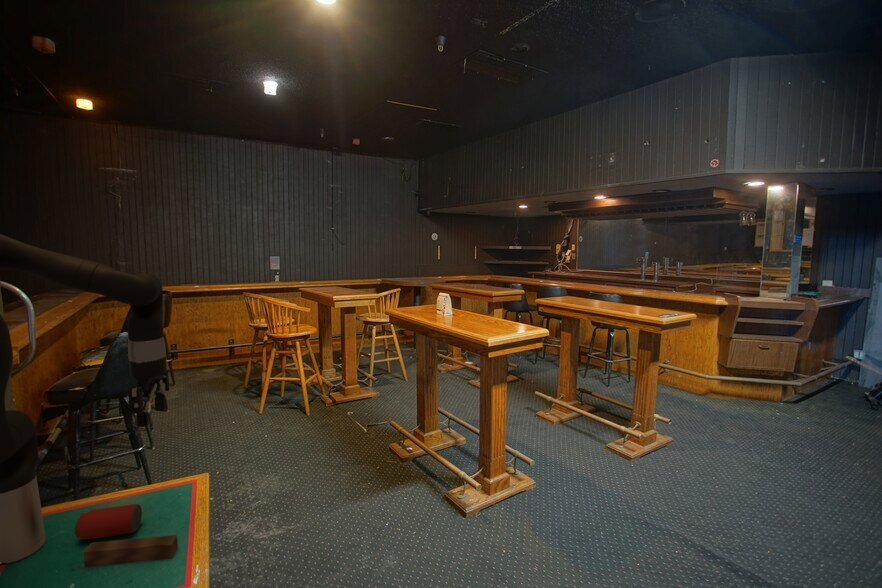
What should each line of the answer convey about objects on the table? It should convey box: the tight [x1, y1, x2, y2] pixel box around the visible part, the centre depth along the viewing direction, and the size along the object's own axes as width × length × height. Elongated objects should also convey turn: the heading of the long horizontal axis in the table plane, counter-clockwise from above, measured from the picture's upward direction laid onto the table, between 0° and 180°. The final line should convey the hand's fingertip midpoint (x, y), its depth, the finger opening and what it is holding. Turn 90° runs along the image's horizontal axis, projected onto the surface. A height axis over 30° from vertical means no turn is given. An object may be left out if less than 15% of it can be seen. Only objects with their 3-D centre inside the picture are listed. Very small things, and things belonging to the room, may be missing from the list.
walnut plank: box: [82, 534, 179, 568], centre depth 99 cm, size 18×3×4 cm, turn 100°
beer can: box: [74, 503, 143, 540], centre depth 106 cm, size 7×7×12 cm
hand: (152, 418), depth 107 cm, fingers open, 8 cm apart
